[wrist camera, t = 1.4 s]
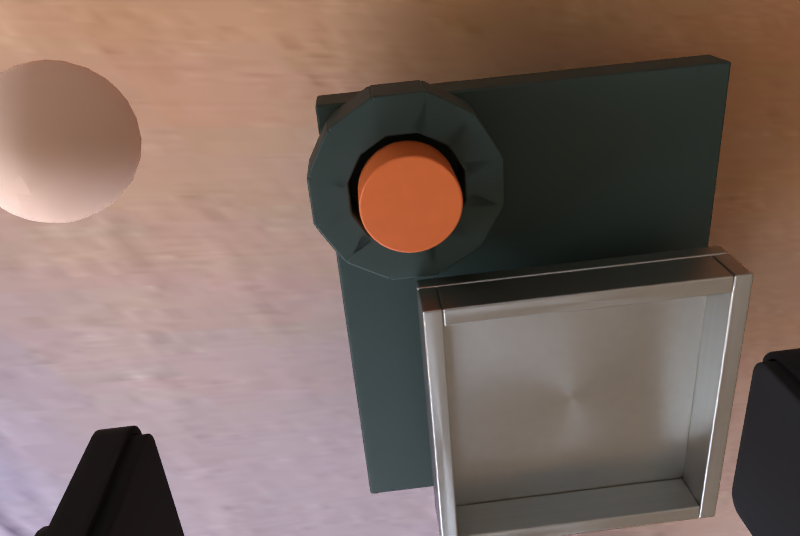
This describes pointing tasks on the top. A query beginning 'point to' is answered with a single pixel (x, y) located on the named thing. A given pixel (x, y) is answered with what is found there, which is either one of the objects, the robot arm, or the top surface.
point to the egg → (63, 142)
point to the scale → (508, 203)
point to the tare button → (409, 196)
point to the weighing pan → (581, 391)
